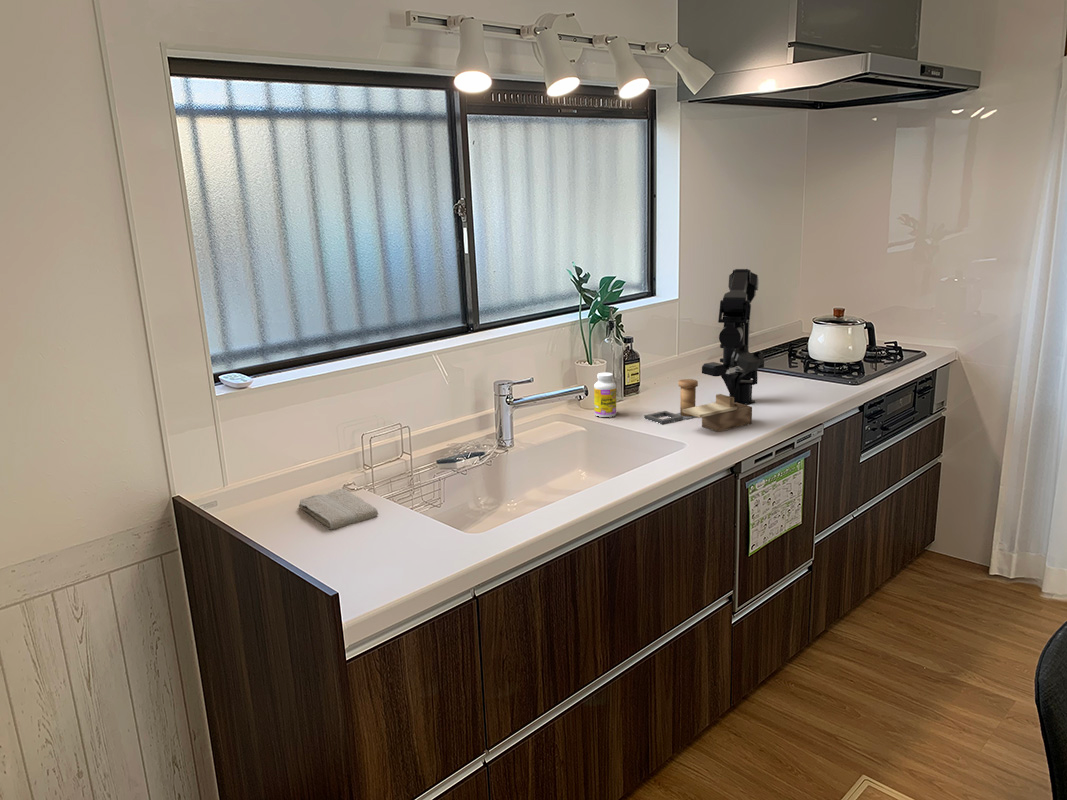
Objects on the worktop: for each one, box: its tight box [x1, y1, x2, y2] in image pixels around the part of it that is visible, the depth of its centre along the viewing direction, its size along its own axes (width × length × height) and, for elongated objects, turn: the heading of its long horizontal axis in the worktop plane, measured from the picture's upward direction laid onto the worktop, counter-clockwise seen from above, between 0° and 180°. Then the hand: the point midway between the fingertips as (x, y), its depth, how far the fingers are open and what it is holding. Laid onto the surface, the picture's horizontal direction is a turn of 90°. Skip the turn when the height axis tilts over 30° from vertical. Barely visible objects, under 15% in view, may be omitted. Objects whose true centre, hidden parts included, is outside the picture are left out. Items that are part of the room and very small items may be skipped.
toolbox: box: [701, 403, 753, 433], centre depth 236 cm, size 13×6×5 cm, turn 121°
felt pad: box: [676, 412, 697, 420], centre depth 248 cm, size 6×6×1 cm
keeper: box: [643, 410, 684, 425], centre depth 245 cm, size 8×8×1 cm
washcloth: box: [298, 488, 379, 530], centre depth 183 cm, size 12×18×3 cm, turn 39°
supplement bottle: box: [593, 371, 617, 418], centre depth 250 cm, size 7×7×13 cm
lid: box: [682, 393, 737, 419], centre depth 232 cm, size 14×7×3 cm, turn 121°
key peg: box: [678, 378, 699, 417], centre depth 246 cm, size 6×6×10 cm
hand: (732, 395), depth 236 cm, fingers closed
